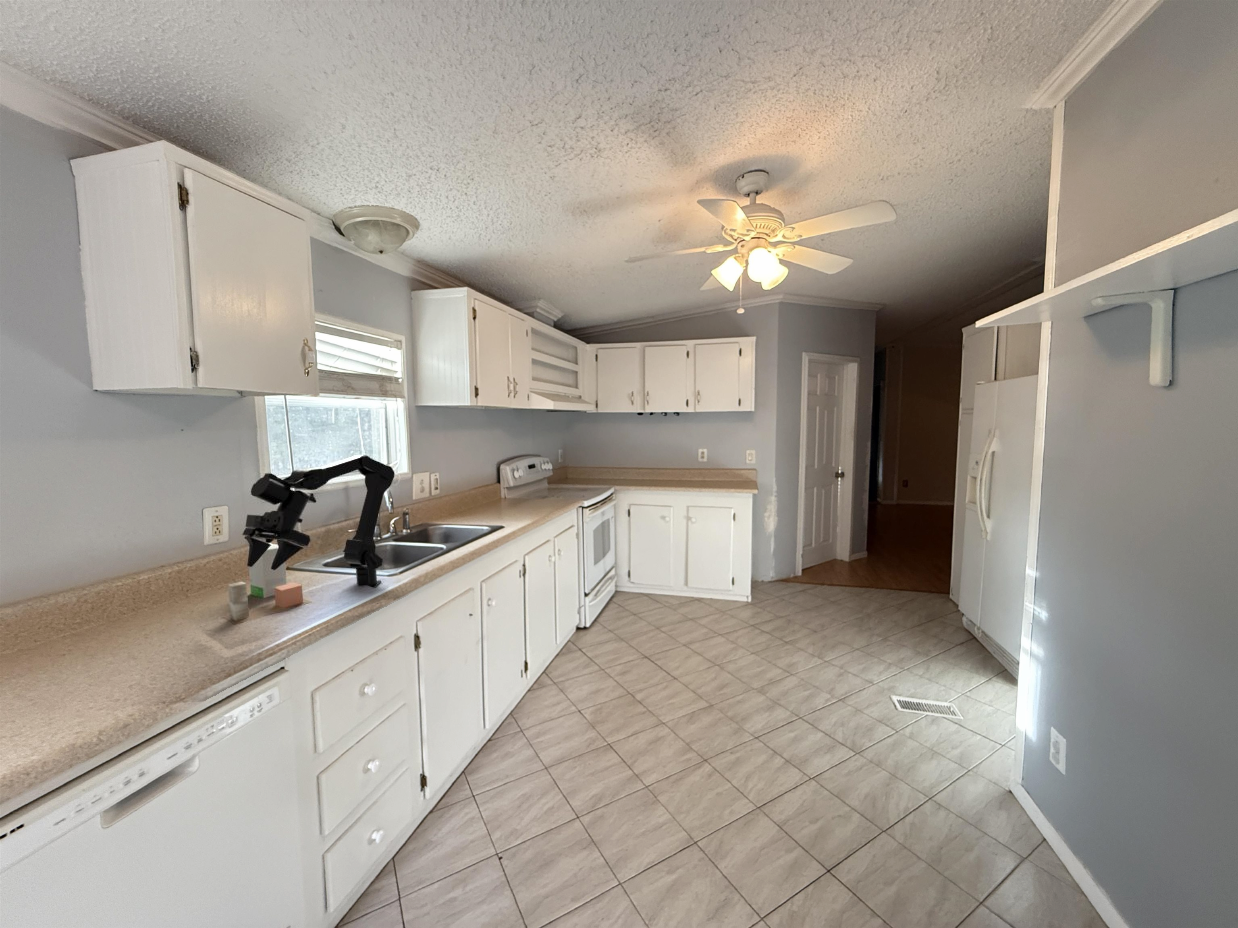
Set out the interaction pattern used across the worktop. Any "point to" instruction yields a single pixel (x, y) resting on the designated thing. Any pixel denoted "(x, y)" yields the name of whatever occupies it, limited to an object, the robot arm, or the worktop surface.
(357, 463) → the robot arm
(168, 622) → the worktop surface
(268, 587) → the skincare box
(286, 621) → the worktop surface
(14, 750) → the worktop surface
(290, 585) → the cube
